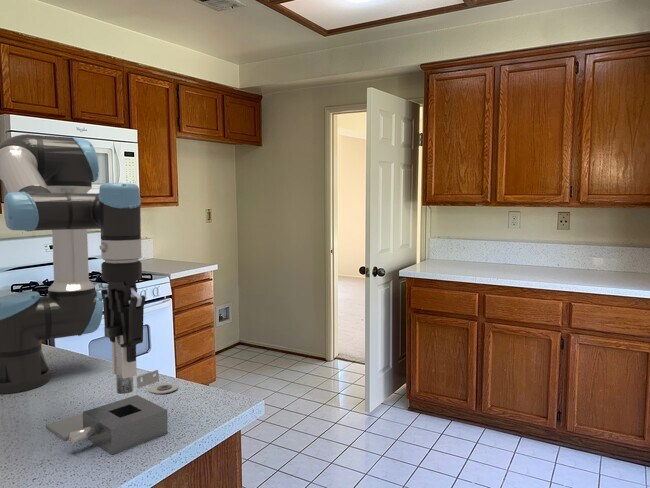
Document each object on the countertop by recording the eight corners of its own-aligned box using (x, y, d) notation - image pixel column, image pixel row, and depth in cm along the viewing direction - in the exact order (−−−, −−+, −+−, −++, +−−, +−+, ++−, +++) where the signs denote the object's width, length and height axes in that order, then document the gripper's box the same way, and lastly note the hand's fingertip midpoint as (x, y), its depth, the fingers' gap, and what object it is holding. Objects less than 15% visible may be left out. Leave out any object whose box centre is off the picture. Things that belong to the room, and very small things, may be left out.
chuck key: (112, 397, 100) (110, 329, 99) (104, 393, 102) (102, 326, 101) (144, 388, 105) (143, 323, 104) (136, 384, 107) (135, 320, 106)
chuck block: (57, 444, 100) (56, 419, 100) (137, 416, 113) (136, 394, 113) (85, 465, 92) (84, 438, 92) (167, 433, 105) (167, 409, 105)
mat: (46, 427, 107) (46, 424, 107) (88, 413, 114) (88, 411, 114) (64, 440, 102) (64, 437, 101) (108, 425, 108) (107, 422, 108)
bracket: (162, 398, 125) (162, 384, 124) (136, 389, 130) (136, 376, 130) (183, 389, 130) (183, 376, 130) (157, 382, 136) (157, 369, 135)
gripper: (84, 258, 104) (87, 370, 106) (124, 265, 93) (127, 389, 95) (119, 256, 110) (121, 361, 111) (160, 262, 99) (163, 378, 101)
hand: (124, 374), depth 103 cm, fingers closed on chuck key, 3 cm apart
